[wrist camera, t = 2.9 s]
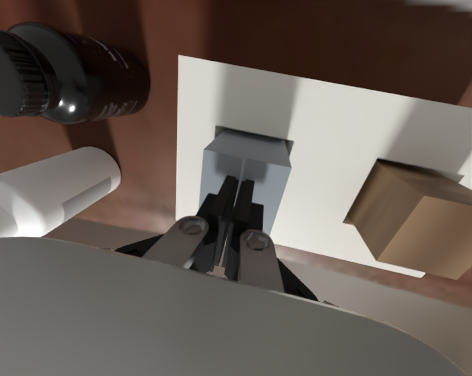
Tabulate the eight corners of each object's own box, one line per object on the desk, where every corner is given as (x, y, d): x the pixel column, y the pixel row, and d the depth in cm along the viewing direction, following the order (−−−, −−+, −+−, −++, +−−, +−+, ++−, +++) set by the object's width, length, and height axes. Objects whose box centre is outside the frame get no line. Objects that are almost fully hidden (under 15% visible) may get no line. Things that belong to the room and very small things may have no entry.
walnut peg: (431, 169, 16) (525, 217, 10) (397, 218, 18) (456, 279, 12) (368, 157, 16) (423, 195, 10) (342, 206, 18) (376, 261, 13)
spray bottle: (79, 180, 30) (-139, 287, 14) (75, 138, 26) (-218, 214, 10) (121, 196, 30) (-47, 319, 14) (122, 155, 26) (-97, 256, 11)
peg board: (453, 111, 18) (566, 125, 11) (378, 224, 25) (421, 277, 18) (210, 66, 20) (178, 55, 13) (200, 185, 27) (175, 220, 20)
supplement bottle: (145, 45, 20) (7, -2, 9) (155, 115, 23) (61, 138, 13) (86, 44, 21) (-103, -1, 10) (103, 112, 24) (-27, 131, 13)
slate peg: (284, 139, 16) (291, 168, 11) (269, 190, 19) (269, 236, 13) (226, 128, 17) (203, 149, 11) (219, 179, 19) (197, 219, 13)
